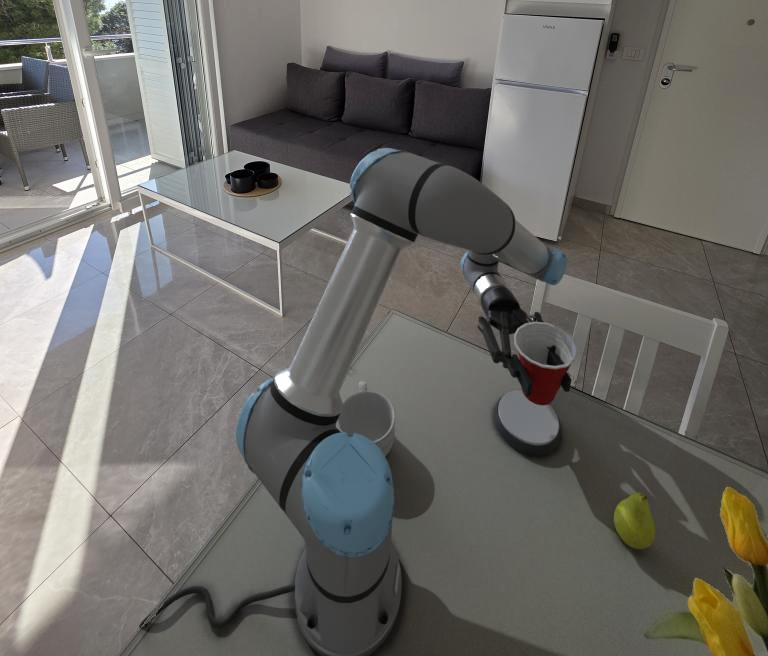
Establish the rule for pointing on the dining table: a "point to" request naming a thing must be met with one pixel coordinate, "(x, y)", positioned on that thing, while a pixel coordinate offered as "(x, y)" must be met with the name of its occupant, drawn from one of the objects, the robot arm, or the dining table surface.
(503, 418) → the scale
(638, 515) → the fruit
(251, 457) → the robot arm
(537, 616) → the dining table surface
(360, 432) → the teacup
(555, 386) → the plastic cup
